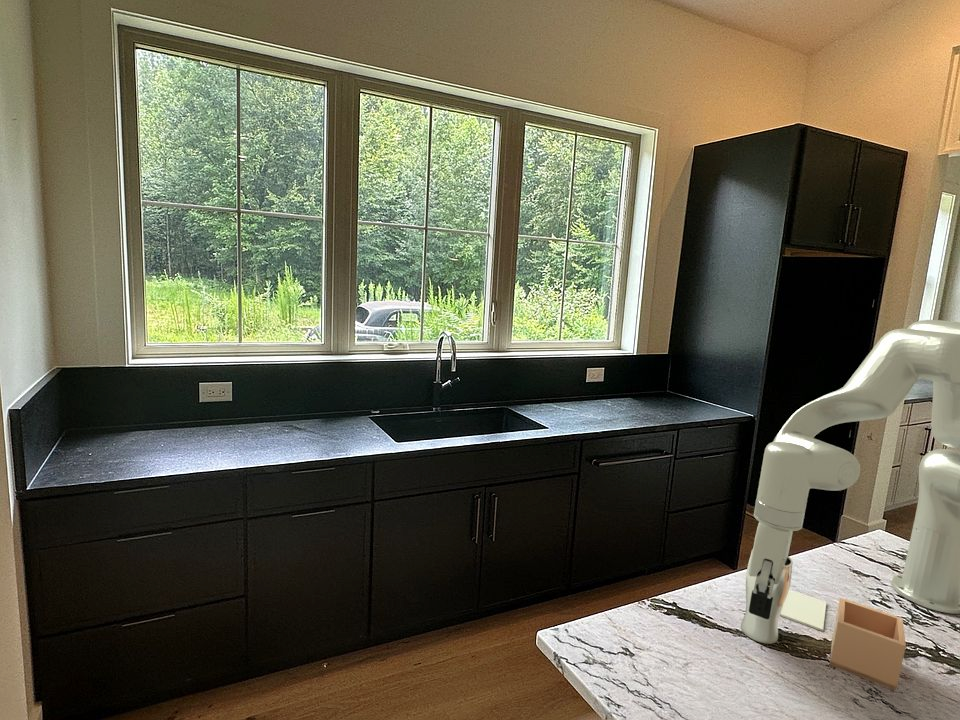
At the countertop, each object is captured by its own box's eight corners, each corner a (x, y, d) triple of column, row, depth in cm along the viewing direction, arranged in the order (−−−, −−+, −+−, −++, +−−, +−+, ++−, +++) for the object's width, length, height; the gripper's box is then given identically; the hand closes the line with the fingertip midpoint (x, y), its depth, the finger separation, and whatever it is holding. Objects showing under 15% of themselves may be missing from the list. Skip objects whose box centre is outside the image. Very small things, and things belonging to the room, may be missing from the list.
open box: (832, 637, 99) (839, 597, 98) (893, 660, 94) (902, 618, 93) (829, 665, 92) (837, 622, 91) (896, 691, 87) (905, 645, 86)
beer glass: (786, 649, 95) (800, 569, 93) (743, 641, 97) (756, 563, 94) (773, 624, 102) (786, 550, 100) (733, 617, 103) (745, 543, 101)
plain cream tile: (765, 583, 116) (765, 581, 116) (826, 603, 110) (826, 602, 110) (757, 607, 107) (757, 605, 107) (822, 631, 101) (823, 629, 101)
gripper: (762, 492, 105) (748, 575, 107) (746, 522, 90) (731, 616, 93) (807, 504, 100) (791, 589, 103) (798, 538, 86) (780, 636, 89)
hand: (762, 602), depth 98 cm, fingers open, 9 cm apart
